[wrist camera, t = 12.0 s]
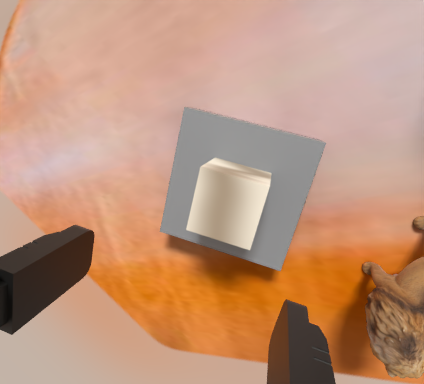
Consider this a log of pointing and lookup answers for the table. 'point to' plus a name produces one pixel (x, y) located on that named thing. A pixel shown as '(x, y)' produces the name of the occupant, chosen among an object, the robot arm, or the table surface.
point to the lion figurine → (398, 316)
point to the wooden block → (228, 202)
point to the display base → (252, 157)
